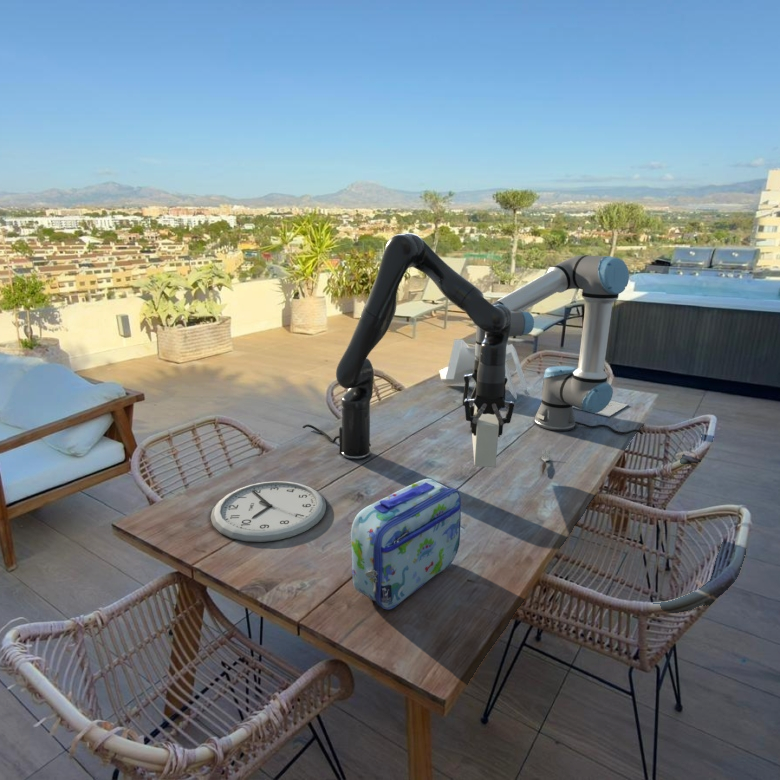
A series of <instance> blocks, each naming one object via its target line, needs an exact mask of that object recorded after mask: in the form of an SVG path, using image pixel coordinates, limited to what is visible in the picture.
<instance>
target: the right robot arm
mask: <svg viewBox="0 0 780 780" xmlns="http://www.w3.org/2000/svg"><path fill="white" fill-rule="evenodd" d="M629 281H630V271H629V267H628V265H627V264H626V262H625V261H624V260H623V259H622V258H620V257H616V256H615V257H614V256H609V255H588V254H580V255H576V256H573V257H570V258H568V259H565V260H563V261H561V262H559V263H557V264H555V265H553V266H552V267H549V268H548V270H547V271H546V273H544V274H543V275H541V276H539V277H537V278H535V279H534V280H532V281H529V282H528V283H527V284H524V285H522V286H521V287H519V288H517V289H516V290H514V291H512V292H510V293H508V294H506V295H505V296H503V297H501V298H499V299H498V300H496V301H494V302H491V304H492V305H497V304H501V305H504V306H506V307H507V308H508V309H509V310H510V312H511V317H512V322H511V329H510V334H509V338H510V337H522V336H526V335H529V334H531V333H532V332H533V330H534V326H535V319H534V316H533V315H532V314H531V313H530V312H529V311H526V310H528V309H529V308H532V307H533V306H536V305H537V304H539V303H540V302H542V301H544V300H546V299H547V298H550V296H553V295H555V294H557V293H558V294H559V293H564V292H566V291H567V290H568V291H569V290H574V289H575V290H576V289H578V290H582V291H581V298H582V299H583V300H584V301H585V307H584V315H583V324H582V331H581V340H580V347H579V357H578V365H577V367H574V366H567V365H557V366H550V367H547V368H546V369H545V370H544V375H543V381H542V392H541V402H540V405H539V407H538V410H537V411H536V413H535V417H534V424H535V425H536V426H537V427H539V428H542V429H544V430H549V431H556V432H567V431H572V430H574V429H575V428H576V425H579V426H581V427H585V428H588V429H596V428H606V429H609V430H610V431H612V432H613V433H615V434H618V435H629V434H631V433H638V434H640V435H644V432H643V431H642V430H640V429H636V428H635V429H631V430H627V431H620V430H616V429H614V428H613V427H612V426H610V425H607V424H603V423H601V424H594V425H591V424H586V423H583V422H581V421H580V422H579V421H576V418H575V417H576V416H575V413H574V407H577V408H579V409H578V410H580V409H582V410H581V411H583V412H587V413H592V414H596V413H597V412H600V411H602V410H603V409H604V408H605V407H606V406H607V405H608V404H609V402H610V401H612V398H613V395H614V390H613V387H612V385H611V384H610V383H608V374H607V373H606V371H605V363H606V355H607V350H608V349H607V348H608V341H609V333H610V326H611V317H612V311H613V304H614V302H616V301H617V300H618V299H619V296H620V295H619V294H622V293H623V292H624V291H625V290H626V287H628V284H629ZM472 323H473V324H474V326H476V331H475V345H474V346H475V356H476V357H475V361H474V371H473V372H472V374H469V375H467V374H465V375H464V380H465V383H464V388H463V393H462V394H463V396H462V406H463V407H465V403H464V400H465V399H466V398H467V399H468V395H469V388H470V383H471V382H470V381H471V378H473V379H474V380H475V382H476V383H475V384H474V387H473V391H472V393H471V395H470V398H469V399H474V398H475V396H476V386H477V372H478V366H479V357H480V347H481V344H482V342H483V340H484V338H485V331H483V330H482V329H480V328H479V327H478V326H477V325H476V324H475V323H474V322H473V321H472ZM506 385H507V377H506V376H505V384H504V396H503V398H504V401H506ZM504 408H506V405H504V406H503V407H502V408H501V409H504ZM469 409H470V416H474V403H473V404H472V407H469ZM469 422H470V421H469ZM469 426H470V429H471V428H472V422H470V424H469Z"/></svg>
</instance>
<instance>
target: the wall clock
mask: <svg viewBox="0 0 780 780" xmlns="http://www.w3.org/2000/svg"><path fill="white" fill-rule="evenodd" d="M211 510H212V511H211V514H210V520H211V524H212V526H213V528H214V529H215V530H217V531H218V533H219V534H221V535H224V536H225V537H227V538H230V539H233V540H239V541H242V542H252V543H253V542H254V543H256V542H257V543H263V542H273V541H280V540H284V539H289V538H292V537H295V536H297V535H300V534H302V533H304V532H307V531H308V530H310V529H311V528H313V527H314V526H316V525H318V523H320V521H321V520H322V519H323V517H324V516H325V513H326V510H327V503H326V499H325V498H324V496H323V495H322V494H321V493H320V492H319V491H317V490H315V489H314V488H312V487H310V486H308V485H305V484H303V483H299V482H292V481H281V480H279V481H262V482H257V483H253V484H249V485H246V486H243V487H239V488H237V489H235V490H233V491H232V492H230V493H227V494H226V495H225V496H223V498H221V499H219V501H217V502H216V504H215V506H214V507H213V508H212V509H211Z"/></svg>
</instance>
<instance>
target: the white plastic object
mask: <svg viewBox="0 0 780 780" xmlns="http://www.w3.org/2000/svg"><path fill="white" fill-rule="evenodd" d="M475 357H476V356H475V345H473V346H469V345H468V343H466V342H465V340H464V339H463V338H460V339H458V338H454V340H453V344H452V349H451V353H450V357H449V362H448V366H446V367H444V368H442V369H440V370H439V371H438V372H439V376H440V381H442V383H443V384H444V385H445V386H449V385H458V384H465V380H464V375H465V374H467V375H469V374H472V372H473V371H474V361H475ZM510 360H513V363H514V366H515V369H516V372H517V376H518V380H519V382H520V385H521V389H522V391H523V393H524V395H525V396H526V397H528V396H531V395H530V390H529V388H528V387H529V386H528V384H527V381H526V378H525V375H524V371H523V369H522V368H523V367H522V366H521V362H520V359H519V355H518V352H517V349H516V347H515V346H514V345H513V343H511V344H508V343H507V346H506V361H505V376H506V377H507V383H506V385H507V386H508V390H509V393H510V394H511V395H512V397H513V398H514V399H515V400H517V392H516V391H517V390H516V388H515V385H514V381H513V378H512V375H511V371H510V369H509V365H508V361H510ZM469 383H473V384H476V382H475V380H474V379H473V378H471V381H470V382H469Z"/></svg>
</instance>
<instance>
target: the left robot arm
mask: <svg viewBox="0 0 780 780" xmlns="http://www.w3.org/2000/svg"><path fill="white" fill-rule="evenodd" d="M410 268H414V269H415V270H417V271H419V272H421V273H423V274H424V275H426V277H428V278H429V279H430V280H431V281H432V282H433V284H435V286H436V287H437V288H438V289H439V291H440V293H442V295H443V296H444V297H445V298H446V299H447V300H448V301H450V302H451V303H452V304H453V305H455V306H456V307H457V308H459V309H460V310H461V311H463V312H464V313H465V314H466V315H467V317H468V318H469V319H470V320H471V321H472V323H473V322H474V323H475V324H476V325H477V326H478V327H479V328H480V329H482V330H483V331H485V338H484V340H483V342H482V344H481V347H480V357H479V366H478V372H477V386H476V396H475V398H474V399H470V398H468V397H467V398H466V399H465V400H464V403H465V406H464V412H465V419H466V420H465V421H466V422H472V428H470V429H471V430H470V431H471V434H472V433H473V434H474V436H476V430H477V421H478V419H479V418H480V416H481V415H482V413H483V414H491V415H494V414H495V415H496V417H497V419H498V424H499V432H498V438H500V437H501V436H502V435H503V430H504V425H505V424H510V423H511V421H512V417H513V413H514V409H515V403H514V401H513V400H510V401H509V400H508V401H507V400H505V401H504V398H503V396H504V384H505V361H506V346H507V344H508V341H509V338H510V337H509V334H510V329H511V322H512V317H511V312H510V310H509V309H508V308H507V307H506V306H504V305H501V304H497V305H492V302H489V301H488V300H487V299H486V298H485V297H484V293H483V292H482V291H481V289H479V288H478V287H477V286H476V285H474V284H473V283H471V282H470V281H468V280H467V279H466V278H465V277H463V276H462V275H461V274H460V273H458V272H457V271H455V270H454V269H453V268H452V267H451V266H450V265H448V263H446V262H445V261H444V260H443V259H442V258H441V257H440V256H439V255H438V254H437V253H436V252H435V251H434V250H433V249H432V248H431V247H430V246H429V244H428V243H427V242H426V241H425V240H423V238H422V237H420V236H419V235H417V234H415V233H410V232H409V233H399V234H395V235H394V236H392V237H390V239H389V240H388V241H387V243H386V245H385V248H384V250H383V253H382V256H381V261H380V264H379V267H378V272H377V274H376V277H375V280H374V282H373V285H372V287H371V289H370V292H369V294H368V297H367V300H366V301H365V304H364V306H363V308H362V310H361V313H360V315H359V319H358V322H357V324H356V326H355V330H354V331H353V334H352V336H351V339H350V341H349V343H348V345H347V347H346V349H345V350H344V353H343V355H342V357H341V358H340V360H339V362H338V364H337V366H336V369H335V370H336V371H335V378H336V382H337V383H338V384H339V386H340V387H341V388H343V389H347V390H346V392H345V394H343V396H342V397H341V426H340V427H339V429H338V433H339V435H335V436H334V438H332V437H331V436H329V434H327V433H326V432H325V431H324V430H321V429H319V428H318V427H316V426H314V425H312V424H304V425H303V426H302V429H305V428H311V429H313V430H314V431H316V432H318V433H320V434H321V435H323V436H324V437H325V438H326V439H327V440H329V441H330V442H331V443H335V442H336V441H337V440H338V443H339V455H341V456H342V457H343V458H345V459H348V460H355V461H356V460H364V459H366V458H368V457H369V456H370V455H371V449H370V448H371V429H370V428H371V400H372V397H373V394H374V393H373V391H374V367H373V364H372V362H371V360H370V359H369V358H368V357H369V355H370V354H371V352H372V351H373V349H374V348H375V347H376V346H377V345H378V344H379V343H380V342H381V340H382V339H383V338H384V337H385V335H386V334H387V332H388V330H390V326H391V325H392V322H393V320H394V317H395V314H396V311H397V302H398V301H397V300H398V290H399V287H400V284H401V282H402V280H403V278H404V276H405V274H406V272H407V271H408V269H410ZM474 323H473V324H474ZM475 324H474V325H475ZM476 325H475V326H476ZM477 326H476V327H477ZM472 404H473V405H474V404H475V405H476V407H477V410H476V412H475V414H474V416H470V409H469V407H472ZM504 405H505V409H506V412H505V417H502V414H501V411H500V410H501V409H503V408H502V407H503V406H504Z"/></svg>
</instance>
